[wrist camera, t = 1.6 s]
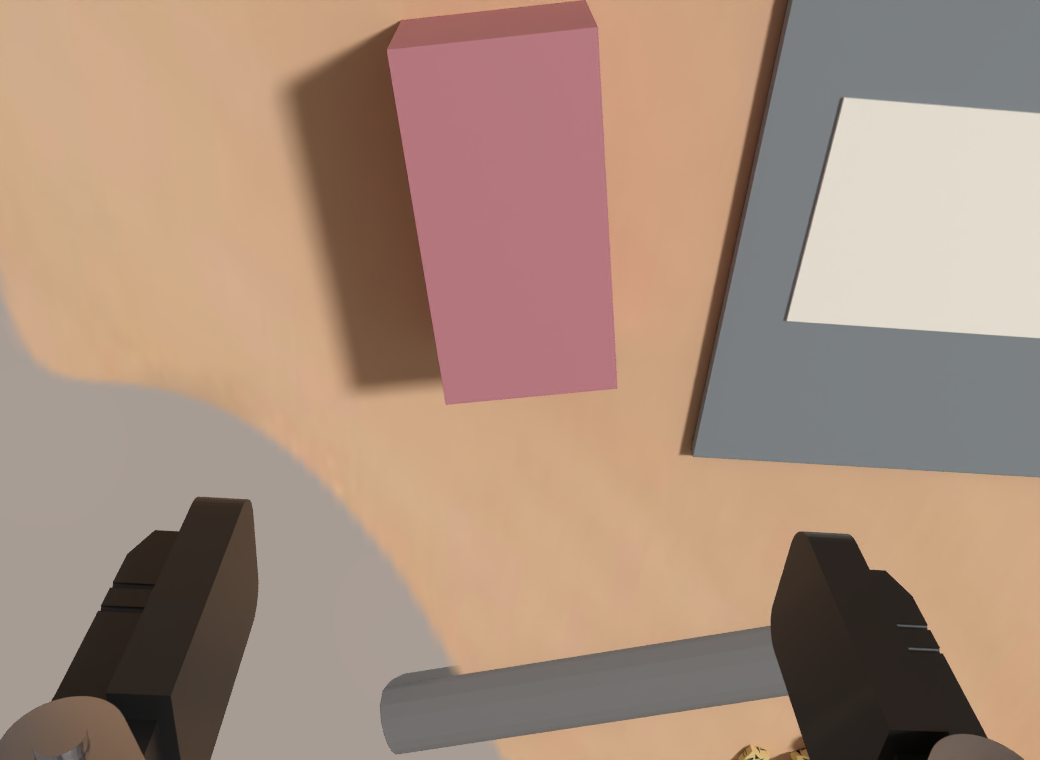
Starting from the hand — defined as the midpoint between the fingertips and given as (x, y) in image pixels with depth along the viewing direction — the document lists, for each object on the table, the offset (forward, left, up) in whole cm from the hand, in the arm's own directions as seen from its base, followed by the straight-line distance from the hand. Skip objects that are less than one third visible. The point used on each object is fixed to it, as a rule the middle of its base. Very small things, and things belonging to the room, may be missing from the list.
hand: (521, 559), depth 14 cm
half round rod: (+21, +6, -17) cm, 28 cm away
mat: (0, +17, -16) cm, 23 cm away
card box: (0, 0, -17) cm, 17 cm away
